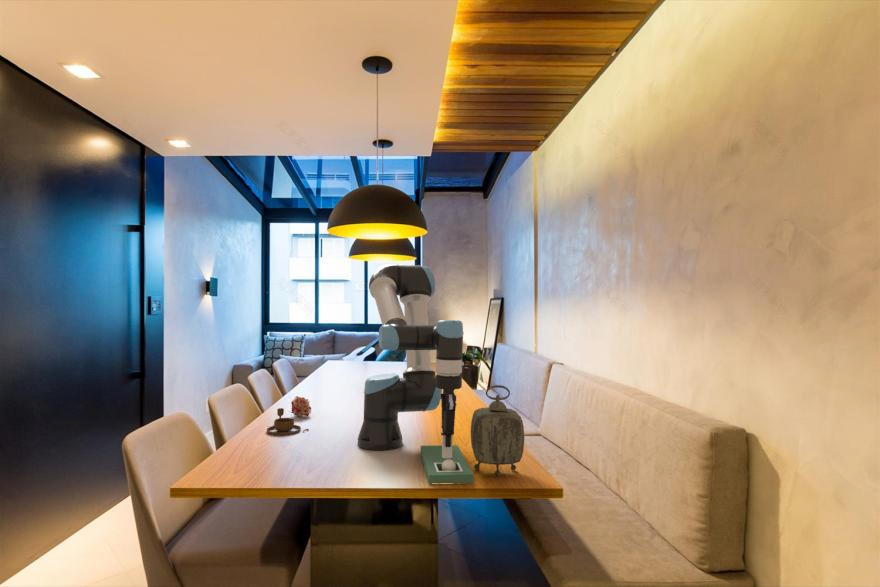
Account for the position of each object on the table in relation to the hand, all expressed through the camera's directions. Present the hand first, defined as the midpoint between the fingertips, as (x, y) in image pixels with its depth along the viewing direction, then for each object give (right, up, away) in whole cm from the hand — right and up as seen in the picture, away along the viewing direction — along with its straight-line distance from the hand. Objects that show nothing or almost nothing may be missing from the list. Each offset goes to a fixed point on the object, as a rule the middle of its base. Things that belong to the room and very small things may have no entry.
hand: (446, 457), depth 130 cm
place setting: (-60, -5, +43) cm, 73 cm away
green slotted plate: (-1, -5, +4) cm, 6 cm away
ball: (0, -2, -2) cm, 3 cm away
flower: (-60, -5, +61) cm, 86 cm away
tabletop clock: (+14, -5, 0) cm, 15 cm away
